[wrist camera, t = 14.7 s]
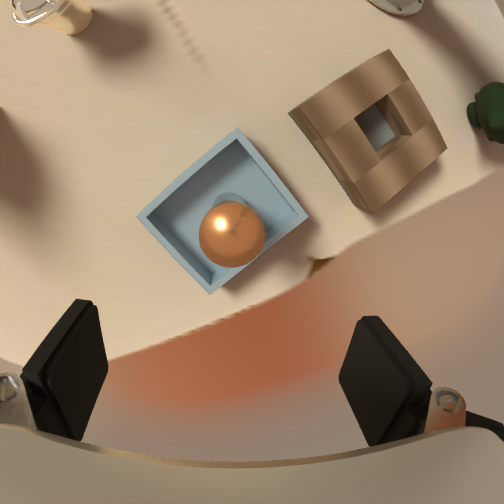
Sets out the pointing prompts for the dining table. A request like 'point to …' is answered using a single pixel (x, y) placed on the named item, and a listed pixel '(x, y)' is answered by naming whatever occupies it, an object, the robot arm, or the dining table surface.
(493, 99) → the toy figurine
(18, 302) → the dining table surface
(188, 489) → the robot arm
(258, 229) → the copper capped shaker
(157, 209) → the tray
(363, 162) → the square wooden block
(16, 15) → the cup with straw
